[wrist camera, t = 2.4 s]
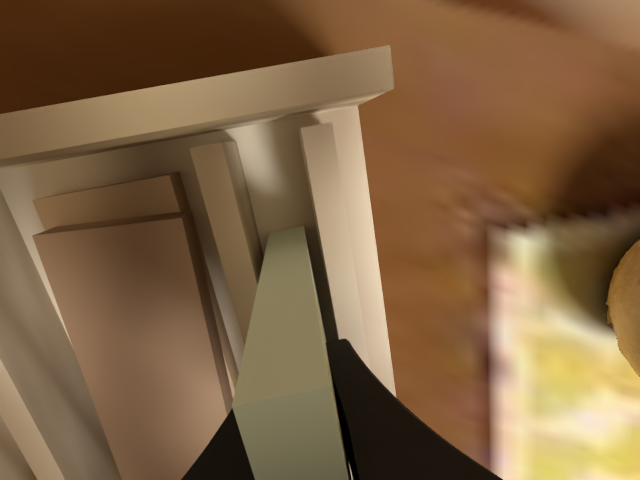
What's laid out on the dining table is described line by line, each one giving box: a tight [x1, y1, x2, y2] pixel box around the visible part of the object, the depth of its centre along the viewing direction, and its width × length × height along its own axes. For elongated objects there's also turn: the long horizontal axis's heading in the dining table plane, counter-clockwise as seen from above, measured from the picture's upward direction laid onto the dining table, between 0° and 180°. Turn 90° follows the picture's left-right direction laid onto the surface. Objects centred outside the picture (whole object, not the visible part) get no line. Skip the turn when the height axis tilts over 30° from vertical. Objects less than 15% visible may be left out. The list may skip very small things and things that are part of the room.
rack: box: [0, 45, 396, 480], centre depth 11 cm, size 16×16×5 cm
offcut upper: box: [32, 211, 233, 480], centre depth 11 cm, size 4×10×1 cm, turn 6°
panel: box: [232, 225, 353, 480], centre depth 9 cm, size 1×7×8 cm, turn 10°
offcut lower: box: [32, 172, 239, 398], centre depth 12 cm, size 4×12×1 cm, turn 10°
